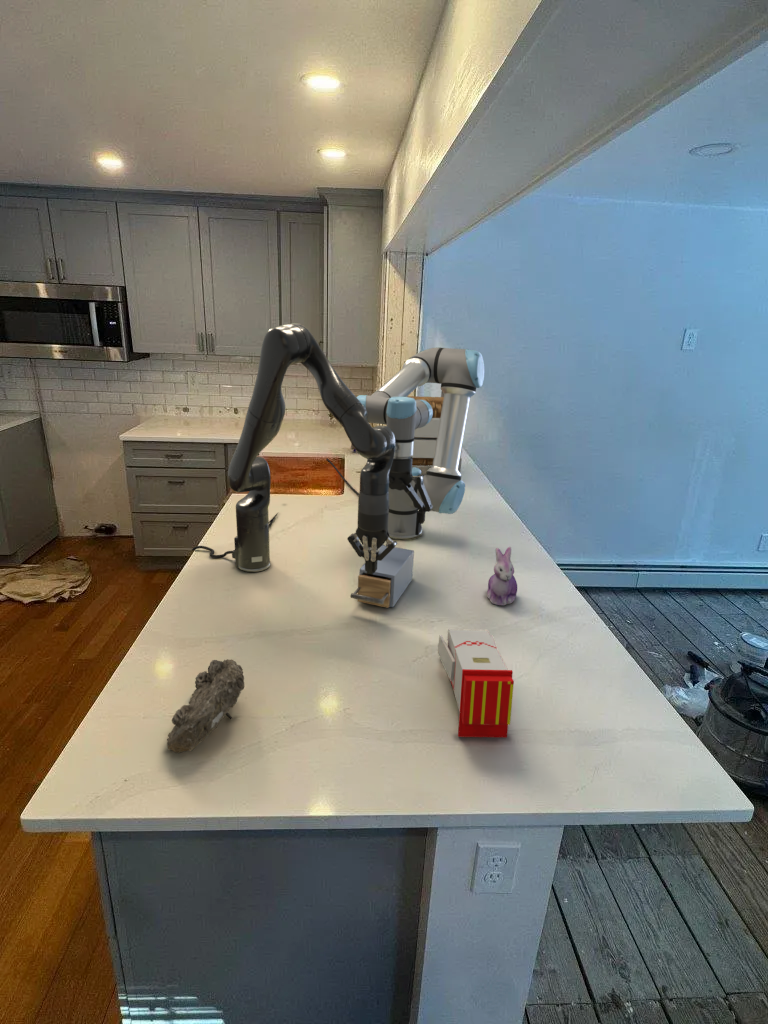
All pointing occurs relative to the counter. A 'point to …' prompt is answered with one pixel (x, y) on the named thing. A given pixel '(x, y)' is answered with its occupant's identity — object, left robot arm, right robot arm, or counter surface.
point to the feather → (272, 520)
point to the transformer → (428, 435)
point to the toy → (478, 682)
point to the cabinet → (395, 570)
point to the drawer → (373, 590)
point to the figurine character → (352, 448)
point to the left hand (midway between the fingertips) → (370, 572)
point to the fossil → (206, 705)
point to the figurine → (502, 580)
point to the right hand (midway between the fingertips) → (394, 529)
